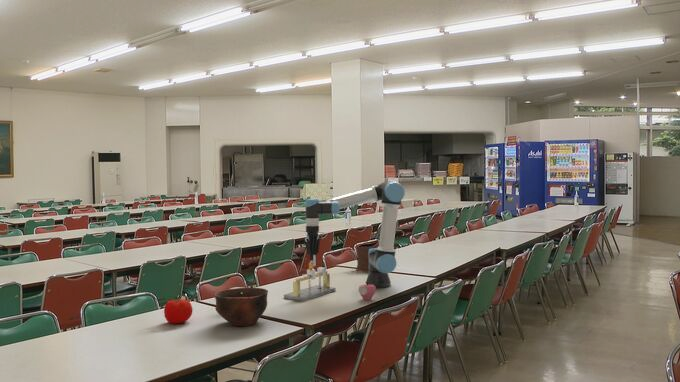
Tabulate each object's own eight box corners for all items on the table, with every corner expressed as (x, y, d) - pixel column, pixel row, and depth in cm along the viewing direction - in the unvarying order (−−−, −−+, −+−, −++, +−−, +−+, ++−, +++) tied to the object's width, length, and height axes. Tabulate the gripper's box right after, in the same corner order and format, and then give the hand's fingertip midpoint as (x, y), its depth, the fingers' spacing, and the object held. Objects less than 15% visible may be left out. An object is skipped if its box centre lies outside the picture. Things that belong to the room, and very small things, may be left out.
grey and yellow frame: (335, 291, 324) (335, 267, 324) (302, 301, 300) (302, 275, 300) (317, 288, 333) (316, 265, 332) (283, 298, 309) (283, 273, 308)
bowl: (248, 313, 278) (248, 283, 277) (279, 322, 260) (278, 291, 259) (205, 323, 260) (204, 292, 259) (234, 334, 242) (233, 300, 242)
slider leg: (315, 290, 315) (315, 262, 314) (312, 291, 313) (312, 263, 312) (310, 290, 317) (310, 262, 317) (307, 291, 315) (306, 262, 314)
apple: (355, 300, 302) (355, 282, 301) (365, 297, 308) (365, 279, 307) (369, 302, 295) (368, 284, 295) (379, 299, 301) (378, 281, 301)
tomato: (169, 319, 269) (168, 295, 269) (196, 318, 269) (195, 295, 269) (160, 326, 257) (159, 302, 257) (188, 326, 257) (187, 301, 256)
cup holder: (382, 271, 383) (381, 236, 382) (348, 272, 383) (347, 236, 382) (380, 266, 402) (380, 232, 401) (347, 267, 402) (347, 233, 401)
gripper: (314, 224, 323) (315, 263, 324) (300, 226, 312) (300, 267, 313) (324, 224, 318) (325, 264, 319) (310, 226, 308) (310, 268, 309)
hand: (313, 265), depth 316 cm, fingers closed
